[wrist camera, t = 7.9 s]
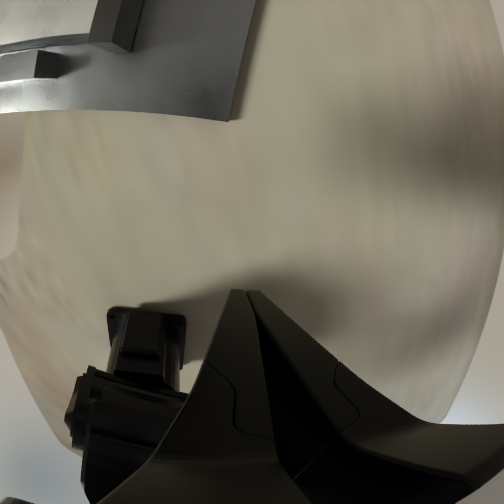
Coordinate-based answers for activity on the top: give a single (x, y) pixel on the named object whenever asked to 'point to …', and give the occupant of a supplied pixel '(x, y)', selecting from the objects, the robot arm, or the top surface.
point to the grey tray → (139, 65)
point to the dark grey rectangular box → (68, 23)
